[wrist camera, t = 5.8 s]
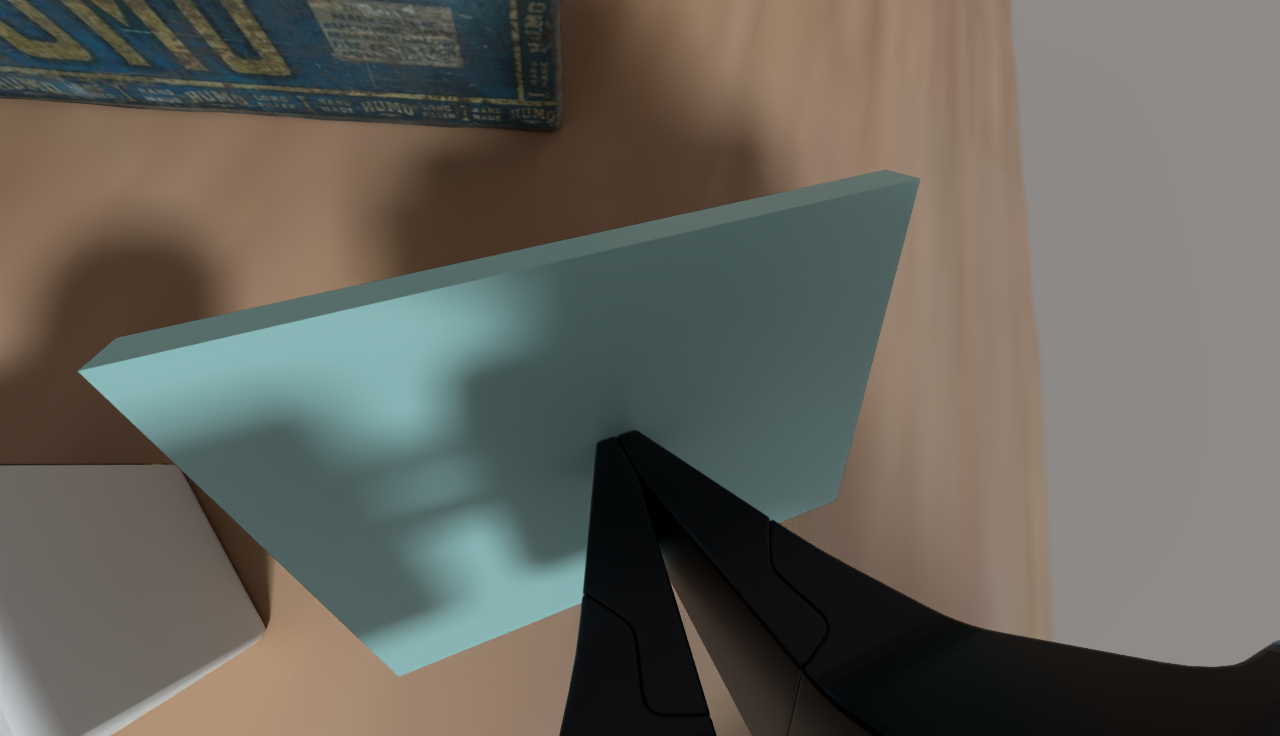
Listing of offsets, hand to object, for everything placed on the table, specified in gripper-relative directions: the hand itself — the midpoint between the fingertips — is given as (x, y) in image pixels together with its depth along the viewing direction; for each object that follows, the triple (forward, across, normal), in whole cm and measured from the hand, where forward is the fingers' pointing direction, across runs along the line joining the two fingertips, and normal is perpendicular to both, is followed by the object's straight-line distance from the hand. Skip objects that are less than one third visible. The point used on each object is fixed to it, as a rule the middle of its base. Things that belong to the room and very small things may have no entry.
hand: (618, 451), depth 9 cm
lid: (+1, 0, 0) cm, 1 cm away
